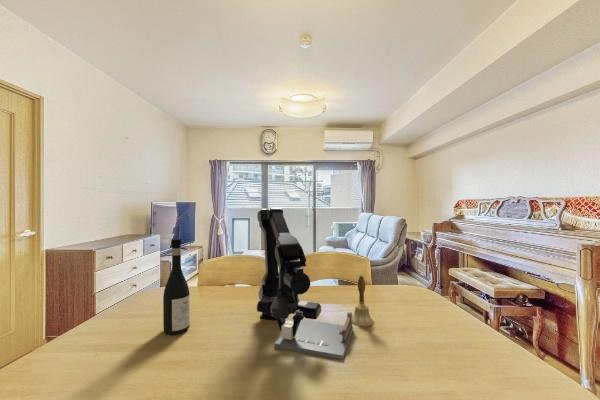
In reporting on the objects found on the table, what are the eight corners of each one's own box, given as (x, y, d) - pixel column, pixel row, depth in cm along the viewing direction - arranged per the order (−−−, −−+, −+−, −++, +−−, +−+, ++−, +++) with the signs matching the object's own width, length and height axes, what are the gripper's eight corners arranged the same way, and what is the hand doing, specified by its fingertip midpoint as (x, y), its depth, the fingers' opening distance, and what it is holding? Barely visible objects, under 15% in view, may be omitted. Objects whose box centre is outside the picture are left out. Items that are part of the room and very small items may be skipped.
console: (274, 347, 82) (274, 328, 82) (296, 320, 100) (295, 305, 100) (342, 359, 76) (342, 339, 76) (353, 329, 94) (353, 312, 94)
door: (338, 341, 83) (338, 329, 83) (344, 326, 93) (344, 316, 93) (345, 342, 83) (345, 330, 83) (350, 327, 92) (350, 316, 92)
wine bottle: (195, 327, 95) (194, 238, 95) (175, 337, 88) (175, 241, 88) (177, 322, 99) (177, 236, 99) (157, 332, 92) (157, 239, 91)
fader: (281, 340, 84) (281, 325, 84) (286, 333, 87) (286, 320, 87) (291, 341, 83) (291, 327, 83) (295, 335, 86) (295, 321, 86)
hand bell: (374, 327, 95) (374, 279, 95) (349, 325, 97) (349, 278, 96) (373, 317, 103) (373, 273, 103) (350, 315, 105) (350, 272, 105)
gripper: (247, 288, 80) (247, 343, 80) (310, 296, 74) (311, 355, 74) (264, 278, 91) (265, 326, 91) (321, 283, 85) (321, 335, 85)
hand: (288, 335), depth 85 cm, fingers closed on fader, 3 cm apart
